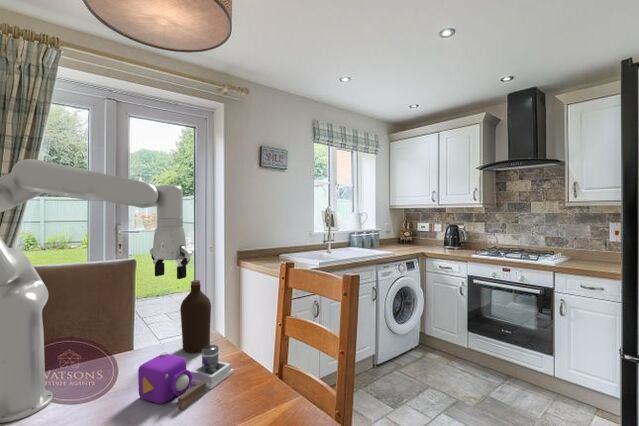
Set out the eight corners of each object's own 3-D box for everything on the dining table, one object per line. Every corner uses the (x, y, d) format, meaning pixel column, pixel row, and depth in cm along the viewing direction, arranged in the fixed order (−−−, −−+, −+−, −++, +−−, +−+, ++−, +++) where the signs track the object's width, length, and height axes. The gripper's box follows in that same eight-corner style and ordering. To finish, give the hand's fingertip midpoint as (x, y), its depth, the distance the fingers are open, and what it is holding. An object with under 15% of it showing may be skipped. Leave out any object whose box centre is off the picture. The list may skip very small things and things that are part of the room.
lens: (198, 376, 97) (198, 350, 96) (210, 368, 101) (209, 343, 101) (211, 379, 95) (210, 353, 94) (222, 371, 99) (221, 346, 99)
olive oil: (205, 354, 113) (204, 284, 112) (175, 354, 113) (174, 284, 113) (215, 341, 124) (214, 277, 123) (188, 341, 124) (187, 277, 123)
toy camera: (177, 410, 82) (176, 371, 82) (131, 403, 85) (131, 366, 85) (201, 386, 93) (200, 352, 93) (160, 381, 96) (159, 348, 95)
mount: (187, 382, 95) (187, 372, 95) (211, 366, 104) (211, 357, 104) (211, 389, 92) (210, 378, 91) (233, 372, 101) (233, 363, 101)
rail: (177, 409, 83) (177, 397, 83) (201, 391, 90) (201, 381, 90) (182, 410, 82) (182, 398, 82) (205, 392, 90) (205, 382, 90)
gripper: (140, 223, 102) (141, 276, 102) (180, 224, 95) (180, 282, 95) (160, 222, 109) (161, 272, 109) (199, 223, 102) (199, 277, 102)
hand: (170, 276), depth 102 cm, fingers open, 9 cm apart
